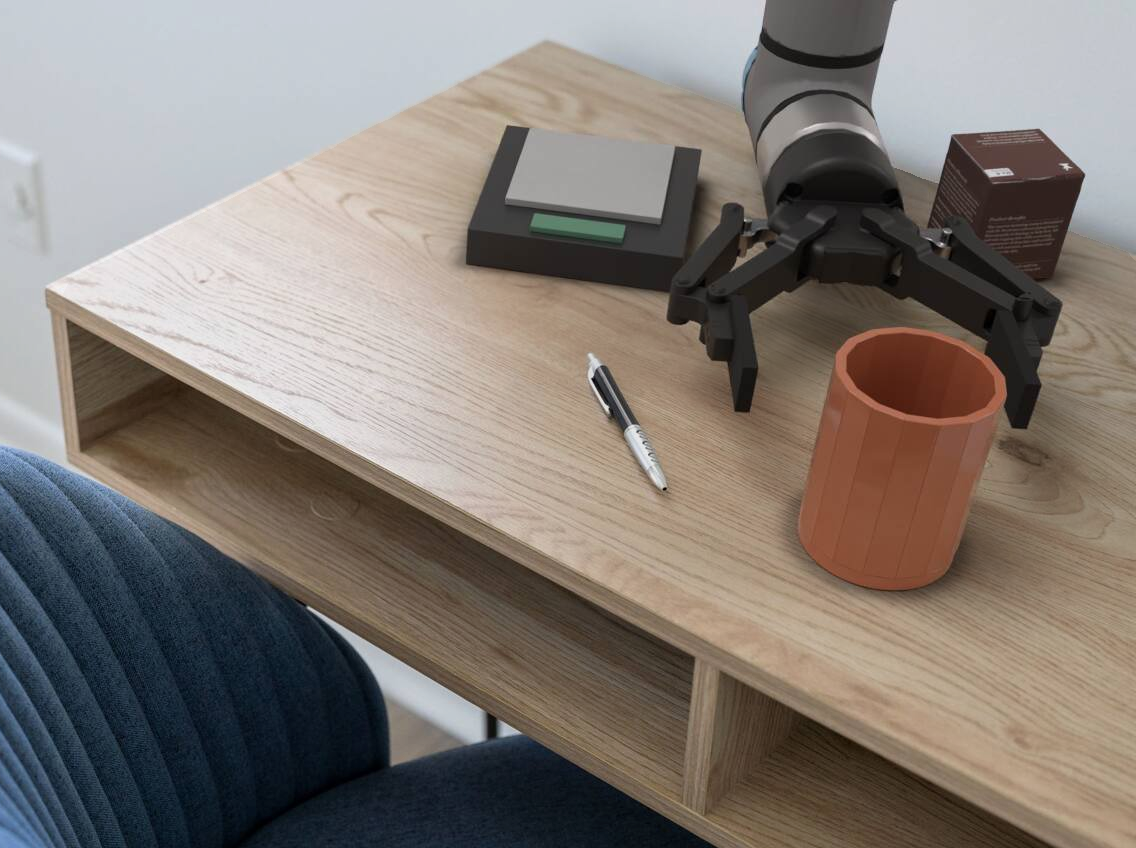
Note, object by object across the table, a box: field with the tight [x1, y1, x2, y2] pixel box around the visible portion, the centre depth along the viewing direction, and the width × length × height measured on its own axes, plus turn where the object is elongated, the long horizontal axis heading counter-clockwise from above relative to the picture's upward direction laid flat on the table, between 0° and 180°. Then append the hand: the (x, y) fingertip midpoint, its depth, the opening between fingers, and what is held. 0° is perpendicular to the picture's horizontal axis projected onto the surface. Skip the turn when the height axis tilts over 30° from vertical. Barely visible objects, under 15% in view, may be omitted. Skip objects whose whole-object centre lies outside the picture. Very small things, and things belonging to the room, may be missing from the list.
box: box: [926, 128, 1086, 280], centre depth 99 cm, size 6×6×7 cm
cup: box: [797, 326, 1007, 591], centre depth 77 cm, size 8×8×10 cm
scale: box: [465, 124, 703, 293], centre depth 102 cm, size 13×14×3 cm
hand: (886, 399), depth 79 cm, fingers open, 13 cm apart
